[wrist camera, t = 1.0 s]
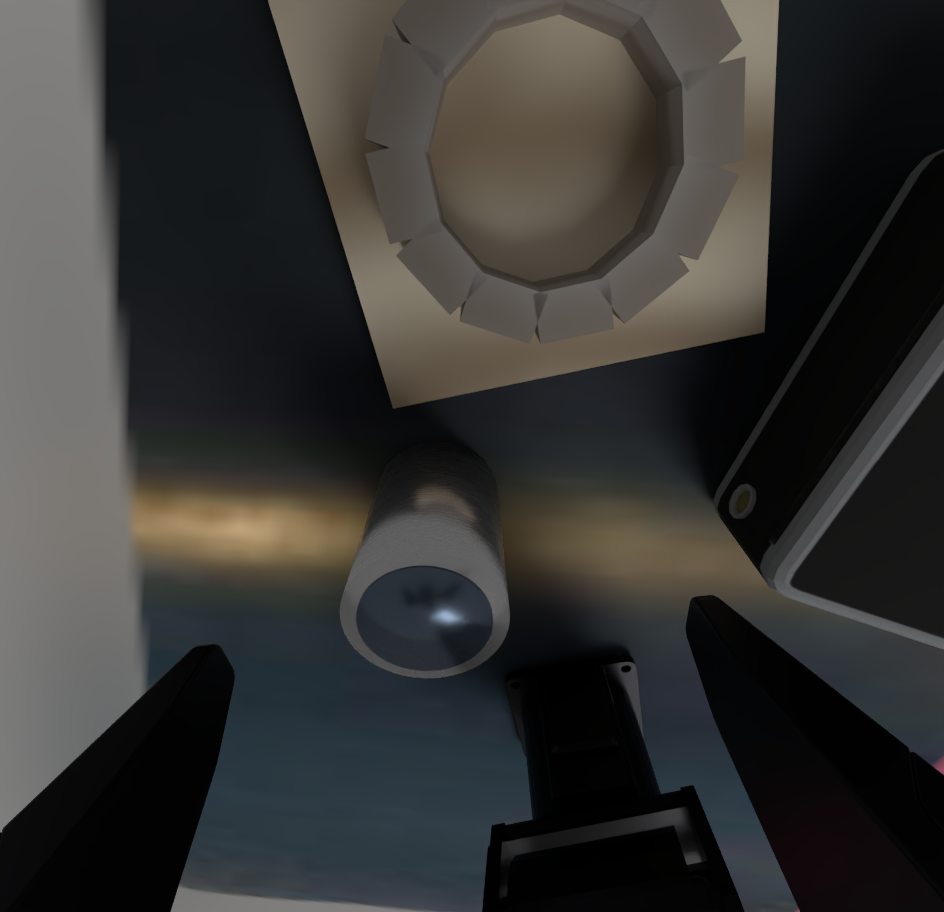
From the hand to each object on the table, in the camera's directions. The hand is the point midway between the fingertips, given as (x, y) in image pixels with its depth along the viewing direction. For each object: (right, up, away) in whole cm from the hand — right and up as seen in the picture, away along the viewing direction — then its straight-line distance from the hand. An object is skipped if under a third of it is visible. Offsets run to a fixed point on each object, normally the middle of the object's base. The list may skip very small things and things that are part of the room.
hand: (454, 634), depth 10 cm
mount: (+2, +12, +6) cm, 14 cm away
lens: (-1, +2, +12) cm, 12 cm away
